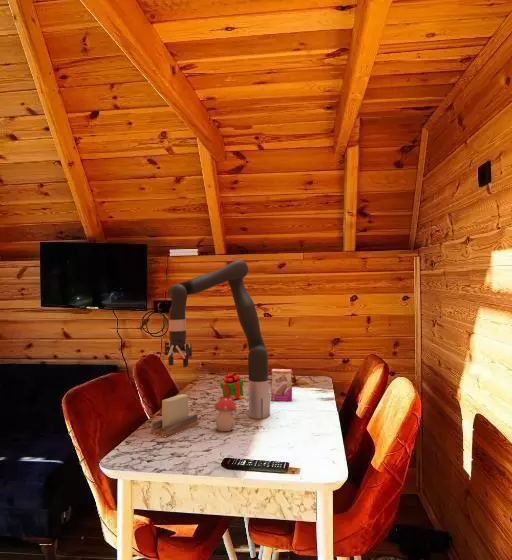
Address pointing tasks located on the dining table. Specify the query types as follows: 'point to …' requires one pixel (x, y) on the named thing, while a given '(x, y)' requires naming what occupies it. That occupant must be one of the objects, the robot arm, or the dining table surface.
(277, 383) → the candy bar box
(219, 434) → the dining table surface
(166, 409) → the door panel
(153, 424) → the door track
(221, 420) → the decorative ornament
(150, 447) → the dining table surface
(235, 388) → the gift box
